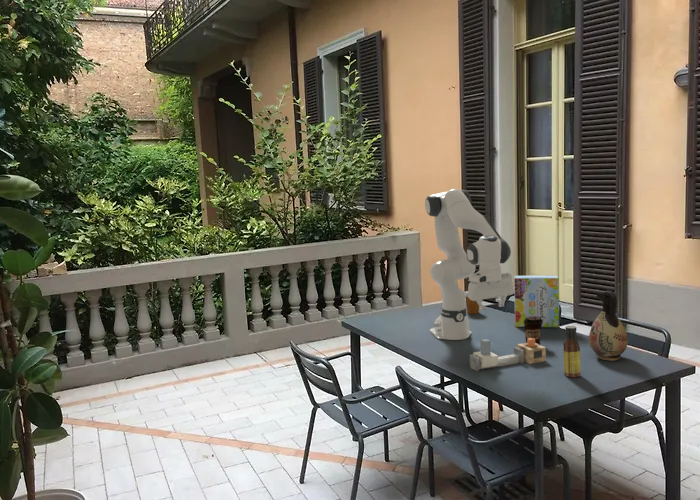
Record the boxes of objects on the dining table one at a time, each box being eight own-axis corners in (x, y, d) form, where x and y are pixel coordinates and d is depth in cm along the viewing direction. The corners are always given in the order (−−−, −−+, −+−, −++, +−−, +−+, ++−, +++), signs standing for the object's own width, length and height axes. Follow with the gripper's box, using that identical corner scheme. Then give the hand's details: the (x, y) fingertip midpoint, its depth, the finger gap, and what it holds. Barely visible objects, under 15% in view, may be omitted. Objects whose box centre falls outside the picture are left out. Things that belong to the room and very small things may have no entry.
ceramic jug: (582, 353, 268) (582, 286, 263) (616, 350, 269) (617, 284, 264) (600, 365, 251) (601, 294, 246) (636, 363, 252) (638, 292, 247)
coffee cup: (543, 348, 276) (543, 320, 275) (524, 347, 278) (524, 320, 276) (541, 342, 285) (541, 315, 283) (523, 342, 287) (523, 315, 285)
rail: (470, 367, 256) (469, 354, 255) (516, 359, 263) (516, 347, 262) (476, 371, 251) (476, 358, 250) (523, 362, 258) (523, 350, 258)
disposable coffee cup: (471, 309, 350) (471, 289, 348) (485, 312, 343) (484, 291, 341) (460, 313, 344) (460, 292, 342) (474, 315, 337) (474, 294, 335)
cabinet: (517, 357, 266) (517, 344, 265) (532, 354, 268) (532, 341, 267) (530, 363, 257) (530, 350, 256) (545, 361, 259) (546, 347, 259)
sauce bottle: (583, 374, 242) (583, 326, 239) (576, 379, 237) (577, 330, 234) (566, 371, 246) (567, 323, 243) (560, 375, 242) (560, 327, 239)
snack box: (558, 323, 315) (558, 274, 311) (559, 328, 306) (559, 278, 302) (514, 322, 320) (514, 274, 316) (514, 327, 312) (514, 277, 308)
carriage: (473, 362, 258) (473, 338, 256) (487, 360, 260) (487, 336, 259) (483, 368, 250) (483, 343, 249) (498, 366, 253) (498, 341, 251)
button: (525, 349, 263) (525, 338, 262) (532, 348, 264) (532, 337, 263) (530, 351, 260) (530, 340, 259) (536, 350, 261) (536, 339, 260)
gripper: (506, 271, 257) (508, 303, 259) (465, 277, 250) (466, 310, 251) (516, 273, 251) (517, 306, 253) (473, 279, 244) (475, 313, 245)
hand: (491, 308), depth 252 cm, fingers open, 8 cm apart
